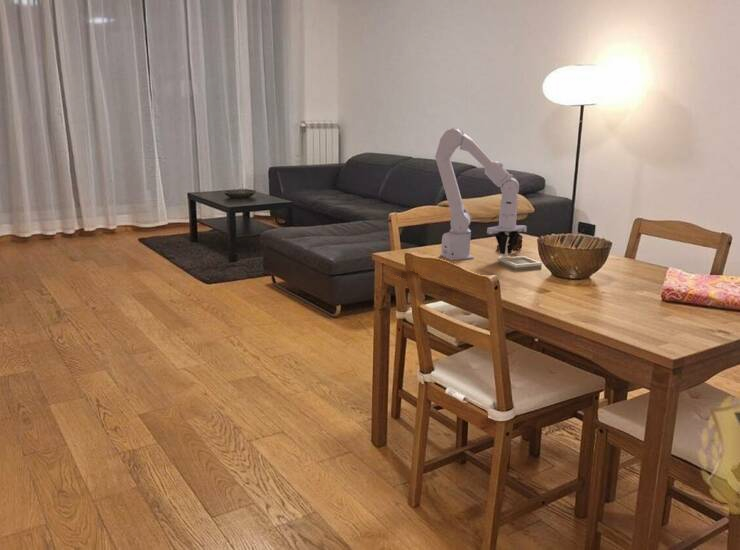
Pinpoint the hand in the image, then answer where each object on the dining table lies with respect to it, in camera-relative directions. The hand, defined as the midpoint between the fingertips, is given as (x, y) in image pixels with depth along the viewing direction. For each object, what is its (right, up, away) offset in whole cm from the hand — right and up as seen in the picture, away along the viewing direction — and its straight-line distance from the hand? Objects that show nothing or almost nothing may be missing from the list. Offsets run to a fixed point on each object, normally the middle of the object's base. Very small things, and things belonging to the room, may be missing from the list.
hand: (505, 253), depth 225 cm
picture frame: (+3, -5, -7) cm, 9 cm away
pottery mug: (+5, +1, +14) cm, 15 cm away
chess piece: (0, -3, +1) cm, 3 cm away
